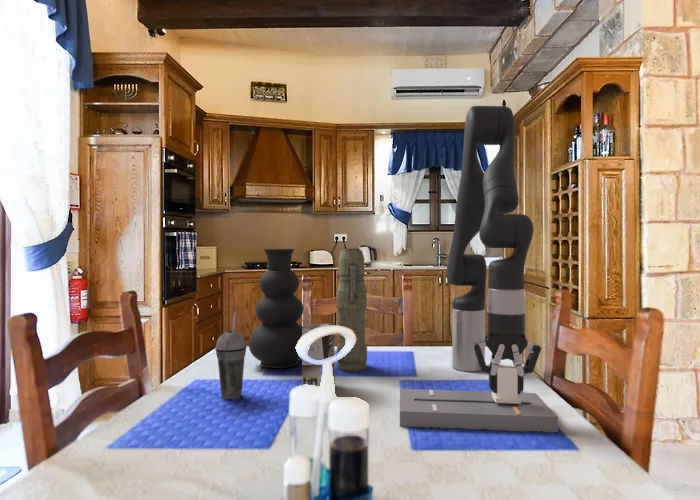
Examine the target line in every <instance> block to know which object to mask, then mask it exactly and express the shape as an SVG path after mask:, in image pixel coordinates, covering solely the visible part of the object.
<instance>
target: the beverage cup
mask: <svg viewBox="0 0 700 500" xmlns="http://www.w3.org/2000/svg"><path fill="white" fill-rule="evenodd" d="M236 317H237V312H233V318H232V330H229V331H226V332H223V333H222V334H221V335H220V336H219V337H218V339H217V341H216V344H215V348H214V349H215V351H216V353H215V354H216V357H217V366H218V374H219V384H220V387H219V388H220V394H221V398H222V399H223V398H224V399H223V400H227V399H231V400H236V398H237V399H239V398H241V397H242V391H243V381H244V370H245V368H244V367H245V356H246V352H247V348H248V347H247V344H246V343H247V342H246V340H245V338H244V336H243V335H242V334H241V333H239V332H238V331H236ZM240 396H241V397H240Z"/></svg>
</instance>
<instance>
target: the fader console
mask: <svg viewBox="0 0 700 500" xmlns="http://www.w3.org/2000/svg"><path fill="white" fill-rule="evenodd" d="M492 392H493V391H481V390H479V391H478V390H477V391H475V390H451V389H449V390H445V389H444V390H443V389H412V388H409V389H408V388H399V427H407V428H409V427H410V428H412V427H413V428H429V427H432V429H436V428H437V429H454V428H463V429H462V430H479V429H487V431H505V430H506V431H507V432H510V431H511V432H530V431H538V432H537V433H540V432H539V431H543V432H542V433H555V432H559V428H558V427H559V425H558V423H559V419H558V418H559V417H558V415H557V414H556V413H555V412H554V411H553V410H552V409H551V408H550V407H549V406H548V405H547V403H546V402H545V401H544V400H543V399H542V398H541V397H540V396H539V395H538V394H537V393H536V392H521V393H520V394H518V396H519V397H520V398H521V404H515V403H496V402H495V401H494V399H493V398H492ZM433 427H434V428H433ZM438 427H440V428H438ZM464 428H465V429H464ZM488 429H489V430H488Z"/></svg>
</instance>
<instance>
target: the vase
mask: <svg viewBox="0 0 700 500" xmlns="http://www.w3.org/2000/svg"><path fill="white" fill-rule="evenodd" d="M263 250H264V253H265V255H266V260H267V262H266V263H267V270H265V271H264V273H263V274H262V275H261V277H260V279H259V288H260V291H261V292H262V293H263V294H264V295H263V296H262V297H261V298H260V300H259V301H258V302H257V304H256V305H255V311H254V312H255V315H256V317H257V320H258V321H260V322H261V324H260V325H258V326H257V327H256V328H255V329H254V330H252V332H251V334H249V335H250V336H249V338H248V349H249V351H250V353H251V355H252V356H253V357H254V358H255V359H256V360H257V361H260V365H261V366H262V367H265V368H269V369H286V368H291V367H294V366H296V365H298V364H299V362H300V359H301V360H302V358H300V357H299V356H298V354H297V352H296V349H295V346H296V344H297V341H298V340H299V339H300V337H301V336H302V328H304V327H305V326H304V327H303V326H302V325H301V324H299V323H298V321H299V320H300V319H301V318H302V317H303V315H304V314H303V313H304V304H303V302H302V301H301V300H300V299H299V298H298V297H297V296H296V295H295V293H297V291H298V289H299V286H300V279H299V277H298V275H297V274H296V273H295V271H294V270H292V256H293V253H294V251H295V248H264V249H263Z"/></svg>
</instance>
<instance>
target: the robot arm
mask: <svg viewBox="0 0 700 500" xmlns="http://www.w3.org/2000/svg"><path fill="white" fill-rule="evenodd" d="M464 122H465V124H464V134H463V136H464V137H463V148H462V161H461V162H462V163H461V164H462V165H461V173H460V178H459V185H458V191H457V197H456V206H455V214H454V215H455V216H454V226H453V232H452V239H451V244H450V249H449V254H448V257H447V258H448V259H447V264H446V265H447V266H446V279H447V281H448V284H449V285H451V286H456V287H457V286H461V287H462V286H464V287H466V286H471V288H470V289H469V290H468V291H467V292H466V293H464V294H462V295H460V296H457V297H455V298H453V299H452V302H451V308H452V315H451V316H452V321H451V322H452V324H451V326H452V328H451V329H452V331H451V332H452V335H451V336H452V337H451V340H452V343H451V344H452V346H451V347H452V357H451V358H452V359H451V360H452V361H451V362H452V368H454V369H455V370H458V371H462V372H483V373H486V374H488V386H489V389H490V390H491V392H493V393H497V375H496V373H497V368H498V366H499V365H501V361H504V360H510V361H511V362H512V365H514V366H516V368H517V394H520V393H522V392H524V389H525V388H524V387H525V386H524V381H525V380H524V379H525V377H524V376H525V375H527V374H533V372H534V370H535V367H536V365H537V361H538V359H539V357H540V354H541V351H542V347H541V346H540V345H538V344H537V343H536V342H534V343H532V342H530V341H528V339H527V338H526V311H527V308H526V295H525V265H526V262H527V256H528V252H529V249H530V245H531V243H532V239H533V236H534V224H533V222H532V220H531V218H530V217H529V216H528V215H527V214H523V213H522V214H521V213H516V214H513V213H512V212H514V211H515V210H516V209H517V208H518V206H519V204H520V203H519V202H520V200H519V199H520V198H519V193H518V187H517V185H518V184H517V181H516V173H515V146H516V145H515V143H516V141H515V136H516V135H515V132H516V131H515V130H516V129H515V118H514V113H513V111H512V109H511V108H510V107H508V106H503V105H500V106H499V105H473V106H471V107H470V108H469V109H468V111H467V114H466V117H465V121H464ZM480 145H481V146H499V150H498V152H497V154H496V155H495V157H494V158H493V160H491V162H490V164H489V165H488V166H487V167H486V169H485V172H484V170H483V169H482V168H483V167H482V166H481V163H480V160H479V157H478V146H480ZM510 213H512V214H510ZM478 233H479V235H478ZM477 235H478V236H479V239H480V242H481V243H482V245H483V246H485V247H486V248H489V249H512V253H511V254H510V255H509V256H507V257H505V258H500V259H494V260H492V261H490V262H489V263H488V271H487V261H486V258H485V257H484V255H482V254H478V253H476V254H475V253H465V252H466V249H467V248H468V246H469V244H470V242H471V241H472V240H473V238H474V237H476V236H477ZM487 273H488V274H487ZM487 275H488V276H487ZM487 277H488V278H487ZM487 281H488V283H487ZM486 284H488V285H486ZM486 286H488V287H486ZM486 288H487V289H488V290H487V295H486ZM486 296H487V298H486ZM486 305H487V306H486ZM485 307H486V308H485ZM485 317H486V318H485ZM486 326H487V327H486ZM486 347H487V349H489V351H490V352H491V356H490V361H489V365H487V363H486V356H485V355H486ZM526 348H527V349H526ZM525 349H526V350H527V353H528V355H527V358H526V360H525V363H524V366H523V363H522V358H521V354H522V353H523V352H524V351H525Z"/></svg>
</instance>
